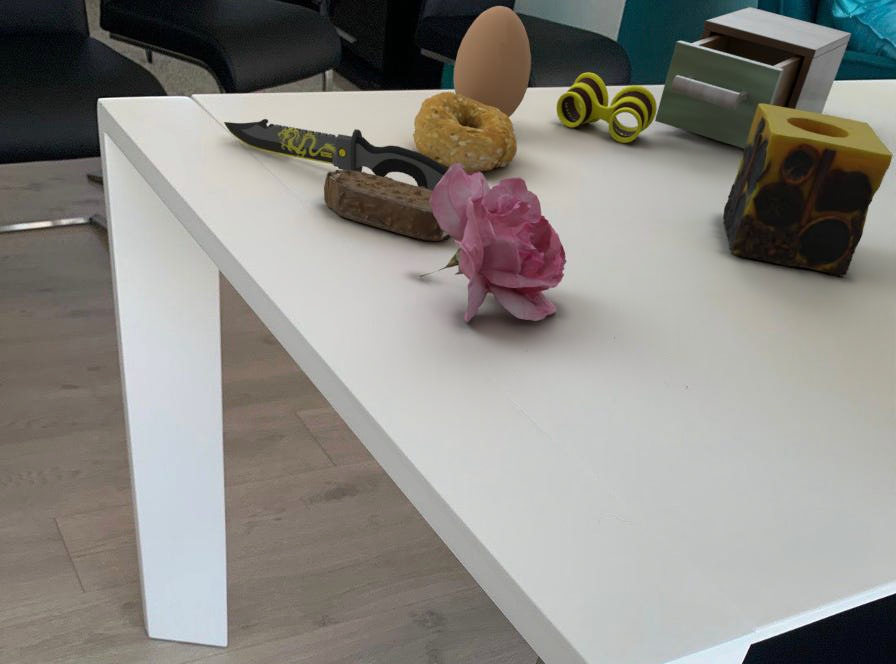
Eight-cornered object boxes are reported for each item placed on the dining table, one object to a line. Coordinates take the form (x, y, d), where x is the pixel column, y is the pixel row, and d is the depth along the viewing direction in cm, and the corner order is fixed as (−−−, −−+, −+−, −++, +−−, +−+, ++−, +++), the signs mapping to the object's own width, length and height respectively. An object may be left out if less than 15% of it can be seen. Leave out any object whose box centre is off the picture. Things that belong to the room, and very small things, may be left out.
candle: (846, 279, 87) (898, 157, 80) (728, 256, 87) (771, 133, 81) (827, 236, 95) (873, 122, 88) (719, 216, 95) (757, 99, 88)
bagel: (411, 169, 93) (418, 113, 90) (410, 132, 101) (417, 80, 98) (518, 184, 94) (529, 129, 90) (509, 147, 102) (519, 95, 99)
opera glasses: (550, 130, 111) (557, 82, 107) (570, 111, 114) (577, 64, 110) (633, 155, 108) (644, 107, 104) (651, 135, 111) (662, 88, 107)
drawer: (740, 160, 106) (767, 77, 101) (638, 128, 110) (660, 46, 105) (791, 127, 119) (818, 52, 114) (699, 100, 123) (721, 26, 118)
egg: (518, 121, 109) (540, 5, 102) (519, 142, 103) (542, 21, 96) (448, 109, 109) (465, -8, 102) (445, 130, 103) (463, 7, 96)
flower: (559, 345, 77) (621, 274, 68) (439, 365, 74) (487, 292, 65) (514, 210, 79) (568, 122, 69) (394, 223, 76) (435, 133, 66)
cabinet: (782, 145, 117) (816, 49, 110) (678, 113, 121) (705, 20, 114) (818, 121, 127) (851, 33, 121) (722, 93, 132) (749, 6, 125)
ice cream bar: (336, 193, 86) (339, 158, 84) (505, 239, 83) (512, 205, 81) (309, 211, 82) (311, 176, 80) (485, 261, 79) (492, 225, 77)
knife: (221, 167, 93) (217, 107, 90) (231, 164, 94) (227, 104, 91) (453, 213, 85) (457, 149, 82) (460, 209, 86) (465, 145, 83)
